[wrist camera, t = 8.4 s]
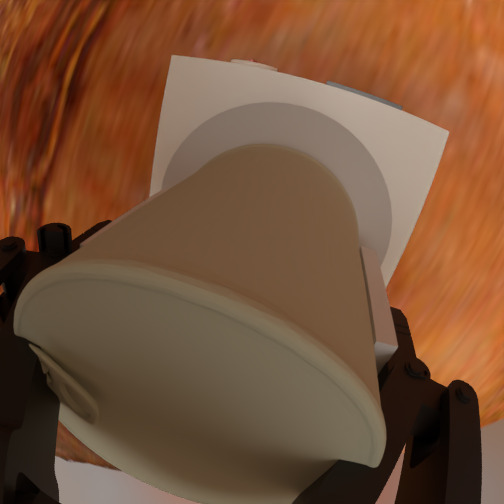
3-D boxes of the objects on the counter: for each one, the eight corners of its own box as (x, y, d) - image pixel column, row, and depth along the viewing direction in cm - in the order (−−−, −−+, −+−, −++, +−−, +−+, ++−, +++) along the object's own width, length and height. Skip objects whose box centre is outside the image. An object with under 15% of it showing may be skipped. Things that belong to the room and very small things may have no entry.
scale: (196, 54, 18) (160, 44, 14) (432, 120, 17) (462, 126, 13) (163, 262, 26) (132, 295, 22) (350, 321, 25) (352, 366, 20)
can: (218, 110, 14) (-21, 171, 3) (394, 205, 14) (493, 434, 4) (159, 262, 18) (24, 421, 8) (300, 336, 19) (259, 537, 8)
